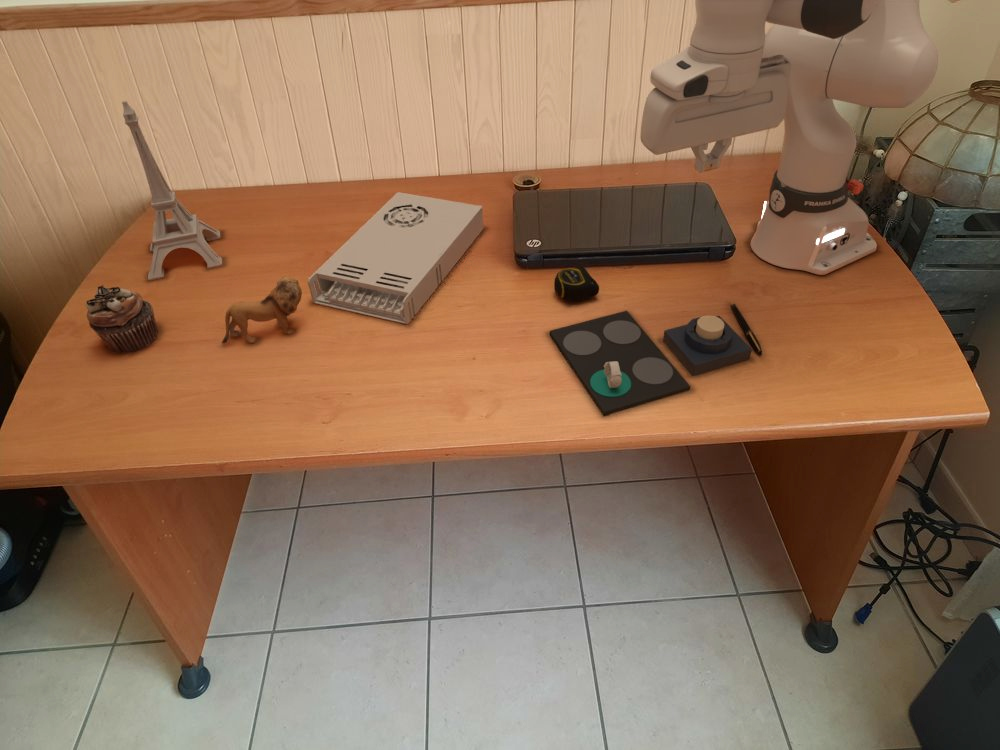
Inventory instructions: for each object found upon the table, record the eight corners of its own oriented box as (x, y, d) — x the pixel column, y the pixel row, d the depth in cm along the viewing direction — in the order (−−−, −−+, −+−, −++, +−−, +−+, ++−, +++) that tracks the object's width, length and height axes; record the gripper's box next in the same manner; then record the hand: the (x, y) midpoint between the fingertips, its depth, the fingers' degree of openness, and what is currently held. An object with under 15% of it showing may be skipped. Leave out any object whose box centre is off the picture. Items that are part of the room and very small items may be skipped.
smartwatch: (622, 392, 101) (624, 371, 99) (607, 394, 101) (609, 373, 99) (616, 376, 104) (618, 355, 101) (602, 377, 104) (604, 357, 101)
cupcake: (157, 352, 114) (133, 303, 108) (96, 360, 113) (68, 311, 107) (168, 317, 121) (146, 269, 115) (110, 324, 120) (85, 276, 114)
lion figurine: (305, 311, 121) (293, 267, 115) (314, 327, 117) (301, 283, 111) (220, 337, 116) (202, 293, 110) (226, 355, 113) (208, 311, 107)
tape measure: (599, 300, 120) (601, 282, 117) (562, 309, 118) (563, 291, 116) (584, 279, 125) (585, 261, 122) (548, 287, 123) (548, 269, 121)
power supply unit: (313, 303, 123) (306, 279, 119) (400, 213, 145) (397, 191, 141) (408, 325, 117) (404, 301, 114) (484, 228, 139) (482, 206, 136)
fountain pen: (725, 303, 118) (727, 296, 117) (732, 302, 118) (734, 295, 117) (756, 358, 107) (759, 351, 106) (764, 357, 107) (766, 350, 106)
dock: (716, 326, 113) (721, 306, 111) (749, 359, 107) (754, 339, 104) (662, 341, 111) (665, 321, 108) (692, 376, 105) (696, 356, 102)
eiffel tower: (220, 232, 142) (166, 82, 122) (222, 265, 133) (165, 109, 113) (151, 245, 140) (85, 94, 119) (148, 280, 130) (76, 123, 110)
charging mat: (626, 314, 117) (626, 309, 116) (689, 390, 103) (690, 385, 102) (549, 334, 114) (549, 329, 113) (603, 415, 99) (604, 410, 99)
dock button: (713, 321, 109) (714, 312, 107) (727, 336, 106) (729, 327, 105) (690, 327, 108) (692, 318, 106) (704, 343, 105) (706, 334, 104)
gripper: (777, 44, 92) (757, 144, 101) (639, 72, 87) (630, 174, 97) (809, 59, 87) (784, 162, 97) (665, 89, 83) (653, 194, 92)
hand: (706, 169), depth 97 cm, fingers closed
